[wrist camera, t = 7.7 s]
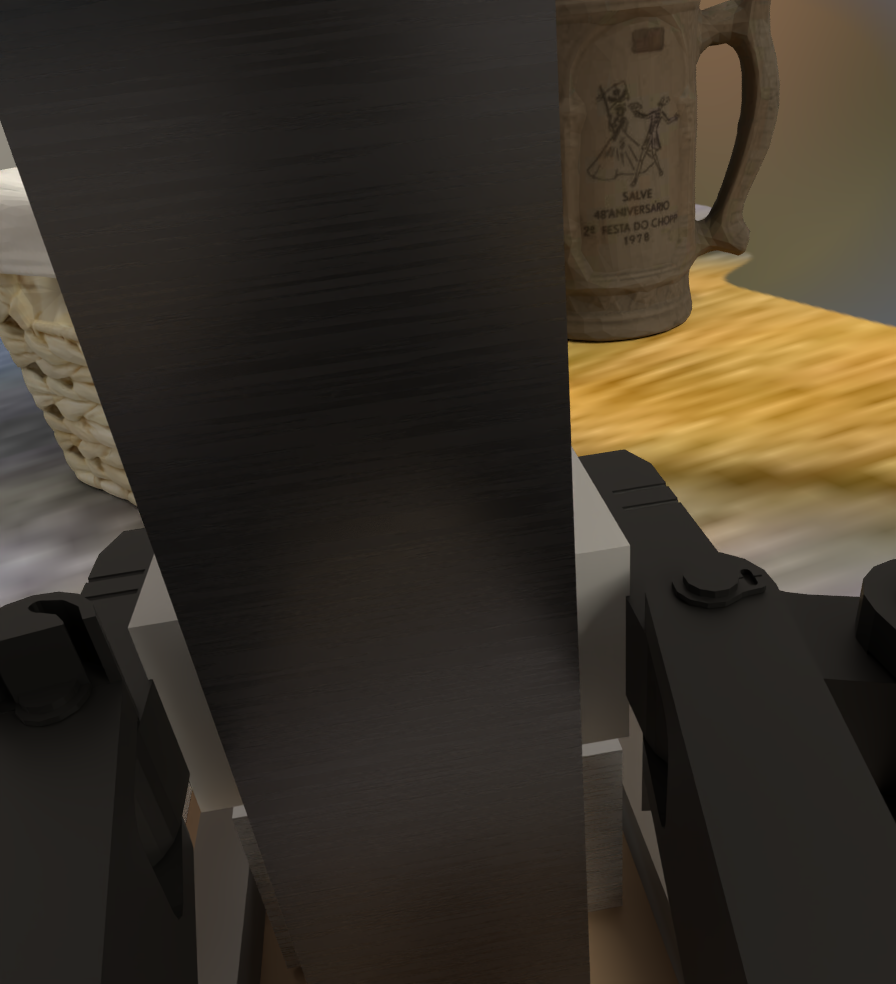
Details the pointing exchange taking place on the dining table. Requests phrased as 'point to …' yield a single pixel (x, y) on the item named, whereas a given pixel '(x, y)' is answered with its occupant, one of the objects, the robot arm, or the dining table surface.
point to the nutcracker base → (266, 979)
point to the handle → (346, 443)
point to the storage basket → (51, 346)
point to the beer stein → (649, 154)
